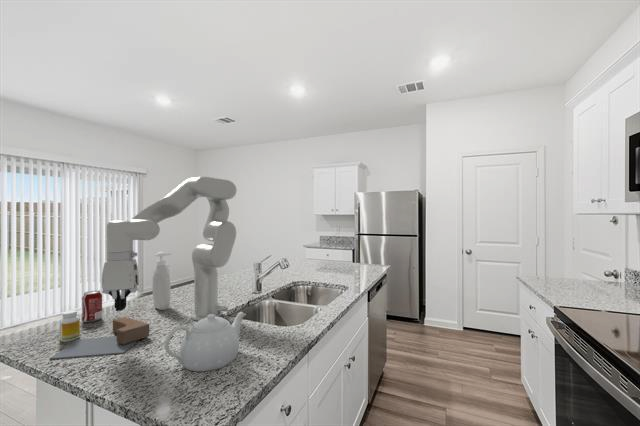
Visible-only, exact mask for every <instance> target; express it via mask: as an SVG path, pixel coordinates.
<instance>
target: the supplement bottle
mask: <svg viewBox="0 0 640 426" xmlns="http://www.w3.org/2000/svg"><path fill="white" fill-rule="evenodd" d="M80 322H81V321H80V317H79V316H78V311H77V310H73V309H72V310H67V311H65V312H62V318H61V319H60V321H59V340H60V342H65V343H66V342H72V341H76V340H78V339H80V336H81V335H80V334H81V331H80V330H81V329H80V327H81V324H80Z"/></svg>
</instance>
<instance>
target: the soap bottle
mask: <svg viewBox="0 0 640 426" xmlns="http://www.w3.org/2000/svg"><path fill="white" fill-rule="evenodd" d="M172 253H173V252H165V251H158V252H157V253H155V257H159V259H157V260H156V267H155V270H154V272H153V276H152V289H151V290H152V300H153V305H154V307H155V309H156V310H160V311H165V310H168V309H169V308H170V304H171V294H172V293H171V291H172V290H171V278H170V271H169V270H168V268H167V265H166V260H165V259H163V257H165V256H171V255H173V254H172Z"/></svg>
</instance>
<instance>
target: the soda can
mask: <svg viewBox="0 0 640 426" xmlns="http://www.w3.org/2000/svg"><path fill="white" fill-rule="evenodd" d="M102 318H103V293H102V292H101V291H100V289H99V290H89V291H85V292H84V293H83V296H82V297H81V320H82V321H81V322H85V323H93V322H92V321H94V322H97V320H98V321H99V320H100V319H102Z"/></svg>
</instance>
